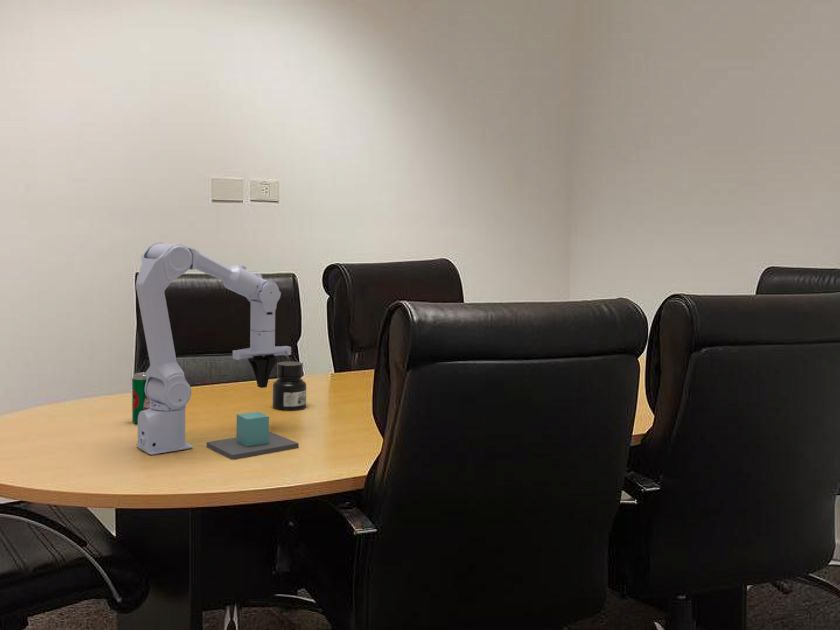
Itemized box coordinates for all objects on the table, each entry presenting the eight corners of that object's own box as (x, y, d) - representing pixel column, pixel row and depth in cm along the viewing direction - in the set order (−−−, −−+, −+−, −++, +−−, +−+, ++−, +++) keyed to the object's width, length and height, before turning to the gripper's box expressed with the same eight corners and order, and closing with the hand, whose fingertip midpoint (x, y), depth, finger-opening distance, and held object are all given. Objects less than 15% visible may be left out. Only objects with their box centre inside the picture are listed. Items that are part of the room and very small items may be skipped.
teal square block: (246, 446, 168) (246, 419, 168) (236, 441, 172) (236, 414, 172) (268, 443, 171) (269, 416, 171) (258, 437, 175) (258, 411, 175)
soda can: (147, 425, 187) (146, 376, 186) (128, 424, 188) (127, 375, 187) (158, 420, 192) (158, 372, 191) (139, 419, 193) (139, 371, 192)
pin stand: (232, 459, 162) (232, 429, 161) (206, 446, 171) (206, 417, 170) (298, 447, 173) (298, 418, 172) (270, 435, 182) (271, 408, 181)
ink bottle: (289, 413, 205) (290, 367, 204) (264, 408, 209) (265, 363, 208) (313, 406, 213) (314, 363, 212) (288, 402, 218) (289, 359, 216)
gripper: (280, 326, 192) (280, 381, 193) (226, 330, 182) (226, 387, 184) (296, 329, 187) (295, 385, 188) (241, 333, 177) (240, 392, 179)
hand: (262, 387), depth 186 cm, fingers closed
